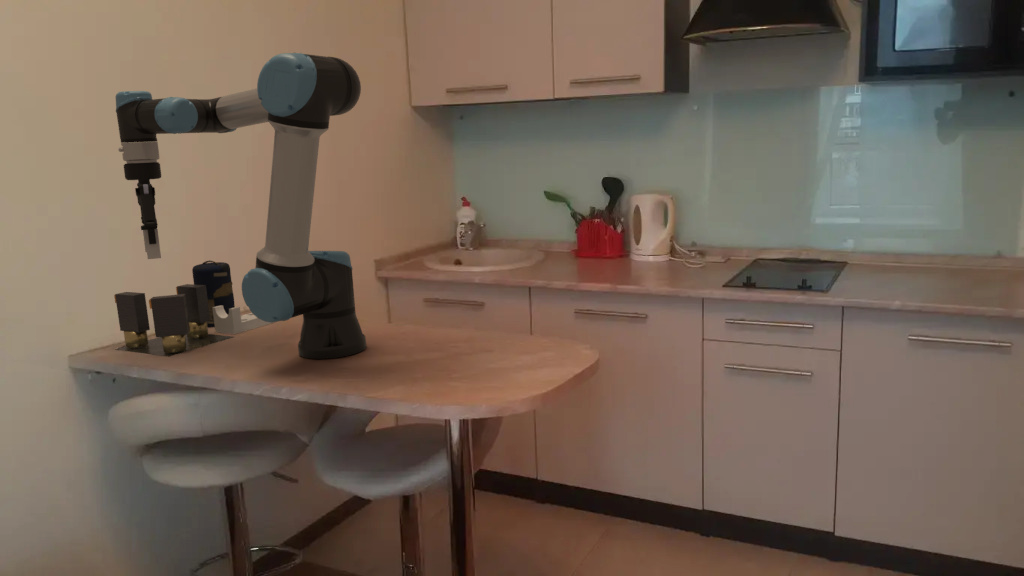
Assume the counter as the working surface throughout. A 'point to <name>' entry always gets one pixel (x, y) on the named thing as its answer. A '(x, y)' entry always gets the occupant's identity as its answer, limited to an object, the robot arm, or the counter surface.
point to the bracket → (235, 321)
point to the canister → (215, 285)
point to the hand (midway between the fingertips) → (153, 255)
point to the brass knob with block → (133, 318)
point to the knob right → (196, 309)
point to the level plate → (191, 343)
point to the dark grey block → (170, 321)
